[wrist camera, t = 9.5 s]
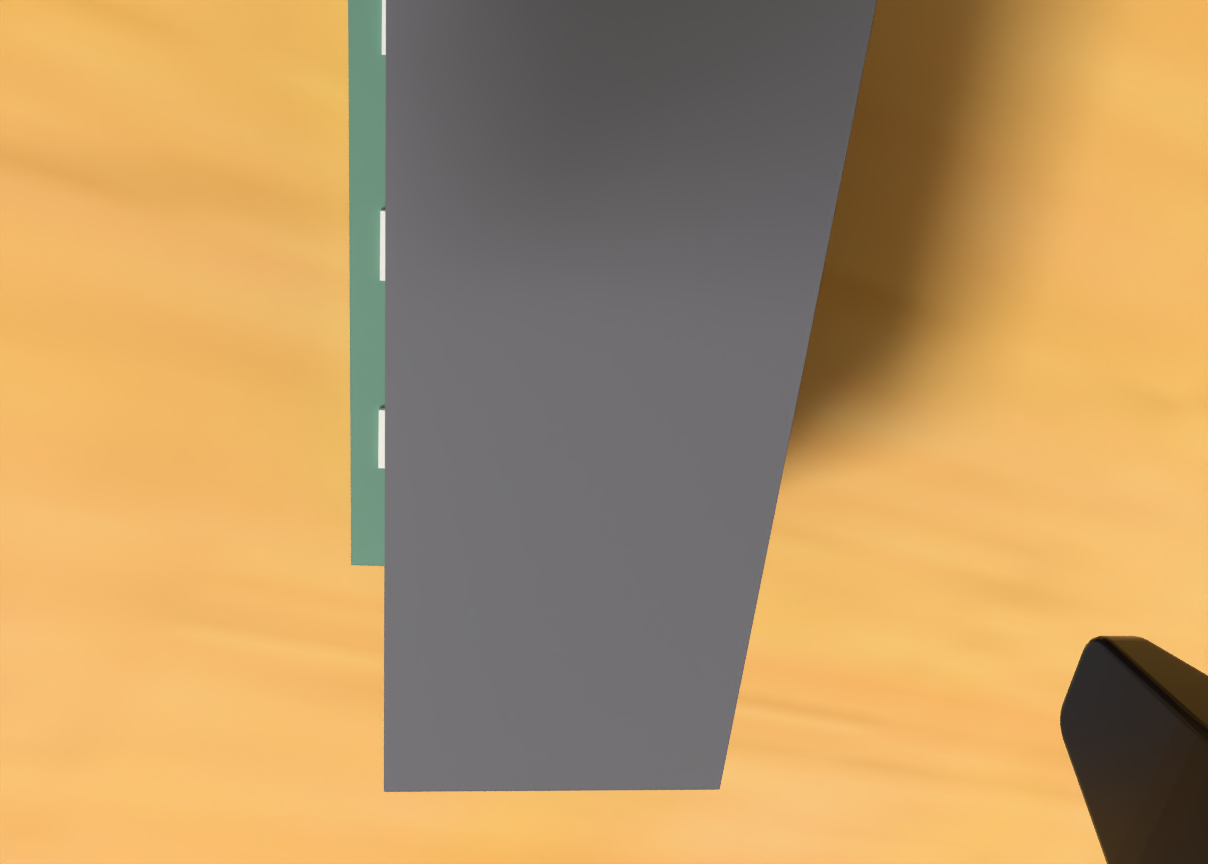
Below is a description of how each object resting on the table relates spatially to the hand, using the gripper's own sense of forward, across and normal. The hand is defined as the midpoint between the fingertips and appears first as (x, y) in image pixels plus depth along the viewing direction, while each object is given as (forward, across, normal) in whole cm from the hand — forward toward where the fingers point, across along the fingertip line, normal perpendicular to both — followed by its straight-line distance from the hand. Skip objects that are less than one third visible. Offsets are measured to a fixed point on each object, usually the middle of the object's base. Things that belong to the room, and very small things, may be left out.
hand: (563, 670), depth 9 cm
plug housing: (+11, -1, +1) cm, 11 cm away
